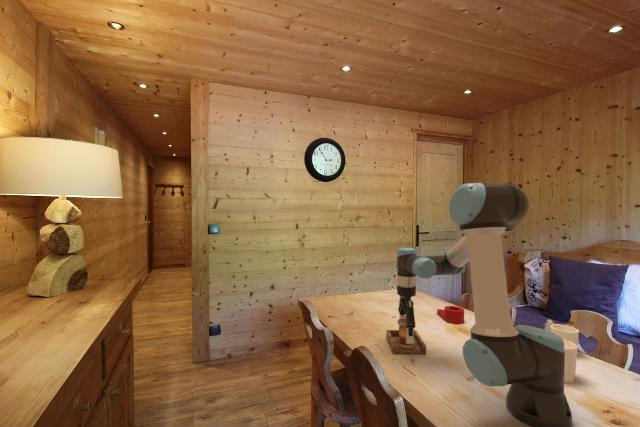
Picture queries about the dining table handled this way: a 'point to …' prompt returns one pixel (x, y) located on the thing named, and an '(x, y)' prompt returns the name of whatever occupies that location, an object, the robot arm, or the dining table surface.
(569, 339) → the mug
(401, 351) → the wooden tray
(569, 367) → the candle holder
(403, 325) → the bobbin
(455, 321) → the red watering can
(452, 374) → the dining table surface
